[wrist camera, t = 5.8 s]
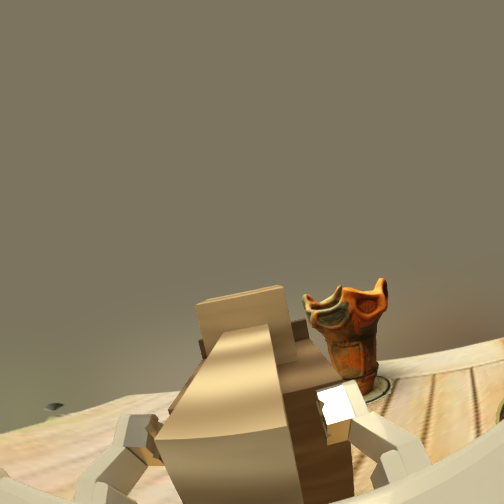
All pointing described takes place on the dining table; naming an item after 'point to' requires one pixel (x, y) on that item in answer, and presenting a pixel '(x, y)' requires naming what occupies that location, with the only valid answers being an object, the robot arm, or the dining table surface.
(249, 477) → the mallet
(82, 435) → the dining table surface
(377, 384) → the decorative vase
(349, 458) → the plinth
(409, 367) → the dining table surface
